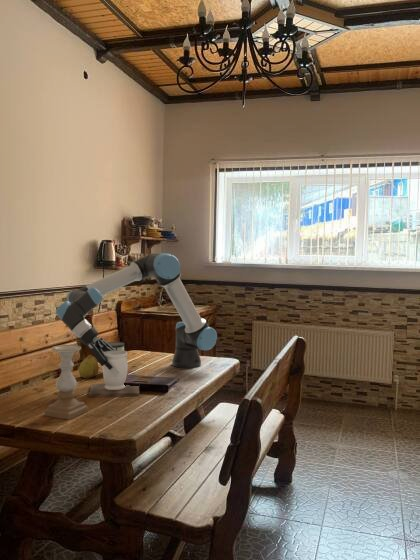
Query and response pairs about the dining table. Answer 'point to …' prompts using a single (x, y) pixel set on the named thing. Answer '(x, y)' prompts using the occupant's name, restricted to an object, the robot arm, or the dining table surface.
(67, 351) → the candle holder
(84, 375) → the fruit
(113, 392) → the walnut board
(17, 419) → the dining table surface
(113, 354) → the jar
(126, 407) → the dining table surface
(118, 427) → the dining table surface
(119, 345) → the coffee can
